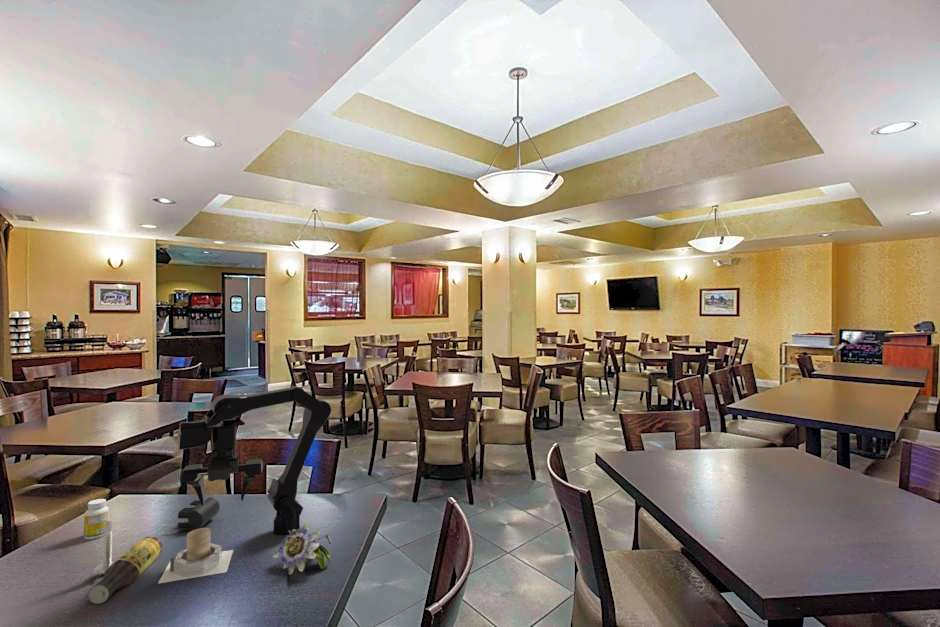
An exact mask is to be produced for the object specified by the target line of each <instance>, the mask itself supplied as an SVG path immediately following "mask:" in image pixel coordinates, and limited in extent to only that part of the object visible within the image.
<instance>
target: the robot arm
mask: <svg viewBox="0 0 940 627" xmlns="http://www.w3.org/2000/svg"><path fill="white" fill-rule="evenodd" d="M292 402H295V403H297V404H298V405H299V406H300V407H302V408H304V409H303V410H304V411H303V415H302V426H301V429H300V432H299V434H298V435H297V436H298V437H297V439H296V441H295V444H294V446H293V448H292V451H291V453H290V456H289V457H288V460H287V462H286V464H285V467H284V469H283V472H282V473H281V475H280V476H279V477H278V478H275V477H274V478H272V480H271V484H270V487H269V488H268V489H267V490H266V493H267V500H268V503H269V504H270V505H271V507H272V508H273V509H274V510H275V512H276V515H275V517H273V535H275V536H276V535H279V536H287V535H288V536H289V535H290V533H289V532H288V531H289V530H290V531H291V532H292V530H293V529H295V530H298V529H301V525H300V520H301V519H300V516H301V515H302V512H303V510H304V507H303V506H302V504H300V503H299V502H298V500H297V499H296V498H297V493H298V480H299V477H300V475H301V472H302V470H303V468H304V466H305V463H306V460H307V457H308V456H309V454H310V450H311V449H312V446H313V444H314V440H315V438H316V436H317V434H318V432H319V431H320V429H321V428H323V426H324V425H325V424H326V423H327V420H328V419H329V418H330V415H331V414H332V407H331V405H330V403H329V402H327V401H326V400H323V399H321V398H315V397H314V396H313V395H311V394H310V393H308V392H307V391H306V390H304V389H303V388H302V387H299V386H296V385H292V386H290V387H286V388H280V389H279V388H278V389H274V390H268V391H263V392H257V393H252V394H221V395H218V396H216V397H215V398H214V399H213V401H212V402H211V403H210V404H211V405H210V409H209V410H208V411H207V413H206V414H205V415H204V416H203V418H202V420H196V421H195V420H194V421H179V428H178V433H177V449H178V451H180V450H187V449H196V448H203V447H205V445H207V444H208V443H210V441H211V450H210V452H211V455H210V459H209V461H208V466H207V467H203V463H198V464H188V465H186V466H185V467H184V468H183V469H182V470H181V472H180V476H179V482H180V483H185V484H186V485H187V486H191V487H192V488H193V489H194V490H195V493H196V494H197V497H198V500H200V502H201V505H204V501H205V500H206V499H205V498H206V497H205V493H206V492H205V481H204V480H205V477H204V476H207V480H208V481H209V482H215V481H219V480H220V481H221V480H222V481H226V480H228V479H230V477H231V474H234V473H241V472H243V473H244V475H243V479H242V488H241V492H240V493H241V494H240V501H244V497H245V495H246V491H247V489H248V485H249V484H250V482H251V480H252V479H255V478H257V476H259V475H261V474H262V472H263V469H264V462H263V459H261V458H254V459H253V458H252V459H247V460H246V461H245V463H243V464H242V463H241V464H240V459H239V457H237V456H236V455H237V427H239V426H244V425H246V423H245V422H244V421H243V420H242V419H241V418H240V416H242V415H243V414H245V413H248V412H249V411H252V410H256V409H262V408H267V407H272V406H275V405H277V406H278V405H281V404H285V403H292Z"/></svg>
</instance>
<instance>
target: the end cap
mask: <svg viewBox="0 0 940 627" xmlns="http://www.w3.org/2000/svg"><path fill="white" fill-rule="evenodd" d="M189 506H194V507H183V508H182V509H181V510H180V511H178V513H177V519H187V521H185V522H184V521H183V522H182V521H181V522H177V529H179V530H178V534H179V533H189V532H191V531H193V530H195V529H199V528H203V527H204V526H205V525H206V524H207V523H208V522H210V521H211V520H212V519H213V518H214V517H215V516H216V515H217V514H218V513H219V511H220V506H221V505H220V503H219V501H218V500H217V498H215V497H208V498H207V499H205V501H204V505H201V502H200V500H199V499H198V500H193V501H192V502H190V503H189Z"/></svg>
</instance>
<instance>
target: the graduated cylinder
mask: <svg viewBox="0 0 940 627" xmlns="http://www.w3.org/2000/svg"><path fill="white" fill-rule="evenodd" d="M112 525H113V524H112V521H111V520H109V521H107V522H105V526H104V534H103V535H104V536H102V551H101V552H102V554H101V555H102V556H101V557H102V559H101V560H102V561H101V563H99V564H98V565H97V566H95V567H94V569H93V573H94V574H98V577H100V576H101V575H104V574H105V571H106V570H107V569H108V568H109V567H110V566H111V565H112V564H113V563H114V562H115V561H116V560H112V559H113V537H114V536H113V534H114V532H113V530H112Z"/></svg>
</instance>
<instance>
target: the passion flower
mask: <svg viewBox="0 0 940 627" xmlns="http://www.w3.org/2000/svg"><path fill="white" fill-rule="evenodd" d="M288 532H289V533H290V535H286V537H284V539H283V540H281V541H282V542H283V544H282V546H279V548H278V551H276V552H274V553H273V555H272V558H273V559H280V560H281V562H282V569H283V570H284V569H288V573H287V574H288V576H291V575H293V574H294V573H295V572H296V568H297V569H298V571H299V572H300V573H302V572H304V570H305V568H306V566H307V560H308V559H309V560H314V559H316V562H317V563H318V565H319V568H320V570H321V569H322V570H325V569H326V561H328V563H330V562H331V554H330V552H329V550H328V548H326V547H325V546H323V545H322V544H321V543H319V542H318V541H319V540H321V539H323V538H326V539H327V540H328V544H329V545H330V544H332V540H331V538H330V537H329V536H330V535H329V534H326V535H324V536H322V537H320V535H321V532H320V531H314V532H312V533H310V534H309V523H307V522H306V523H304V524H303V525H302V527H300V529H298V530H295V529H293V530H292V532H291V531H290V530H289V531H288ZM319 537H320V538H319ZM326 559H327V560H326Z"/></svg>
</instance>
